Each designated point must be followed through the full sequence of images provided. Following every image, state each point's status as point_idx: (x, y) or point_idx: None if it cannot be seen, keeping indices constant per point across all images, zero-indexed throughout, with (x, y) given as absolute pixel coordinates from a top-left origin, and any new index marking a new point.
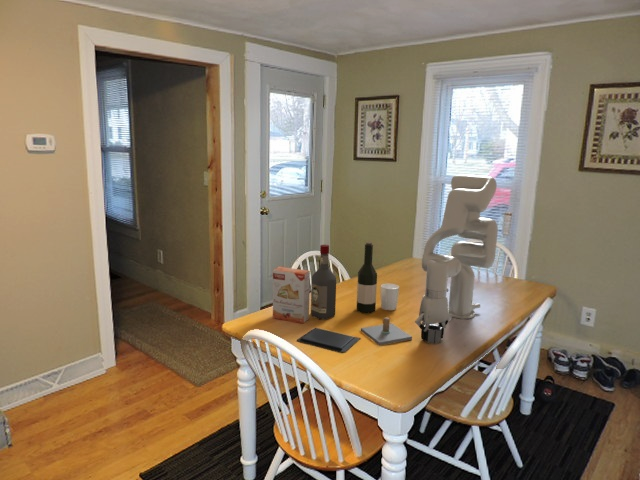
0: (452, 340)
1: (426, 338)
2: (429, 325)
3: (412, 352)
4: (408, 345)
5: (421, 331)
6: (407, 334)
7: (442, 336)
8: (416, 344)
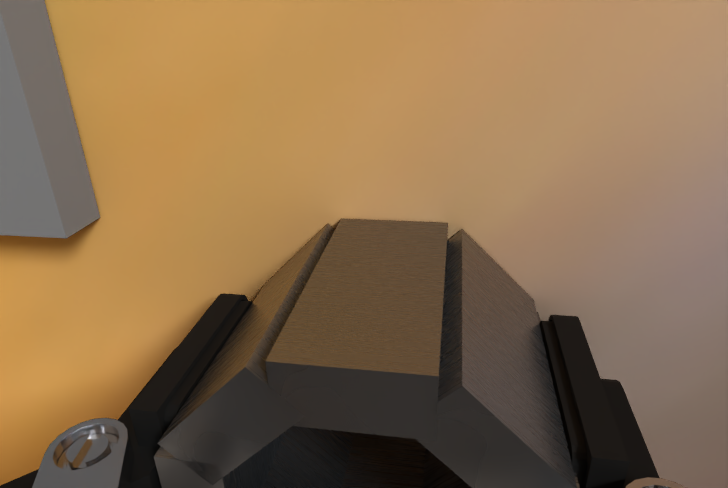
0: (682, 468)
1: None
2: (354, 426)
3: (3, 466)
4: (4, 335)
5: (126, 413)
6: (17, 134)
7: None
8: (112, 354)
